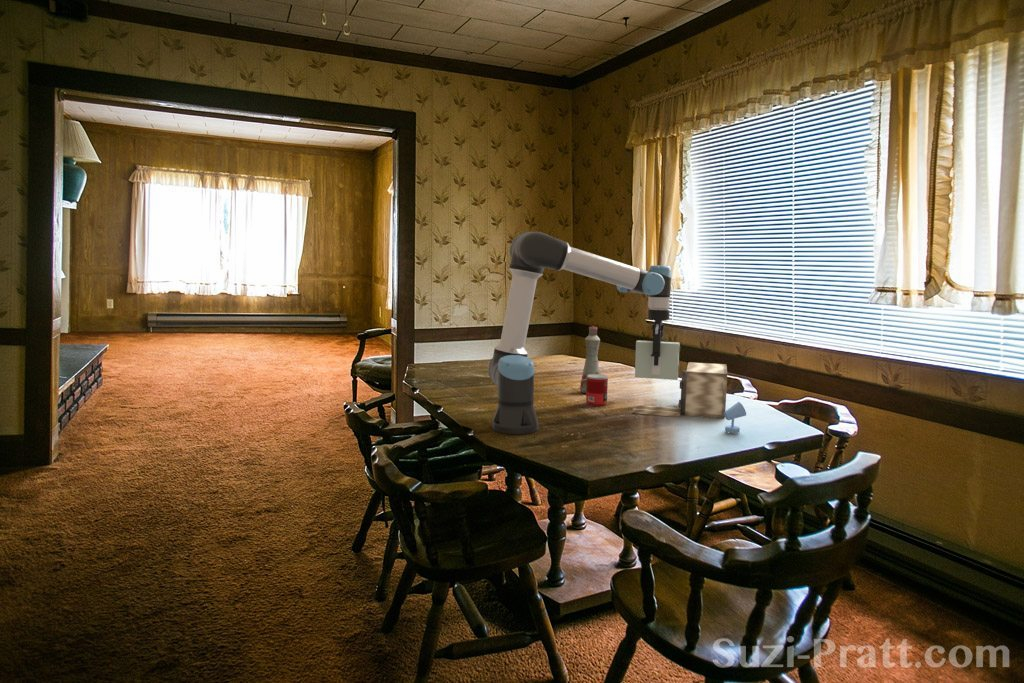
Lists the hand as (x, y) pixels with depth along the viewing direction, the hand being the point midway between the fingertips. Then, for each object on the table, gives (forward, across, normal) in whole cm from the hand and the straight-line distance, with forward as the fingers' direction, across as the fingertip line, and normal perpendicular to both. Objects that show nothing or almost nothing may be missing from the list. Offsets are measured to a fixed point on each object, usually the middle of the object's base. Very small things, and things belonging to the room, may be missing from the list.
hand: (656, 373), depth 239 cm
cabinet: (+15, +9, -8) cm, 19 cm away
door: (+2, 0, 0) cm, 2 cm away
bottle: (+15, +26, +29) cm, 42 cm away
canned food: (+15, +6, +23) cm, 28 cm away
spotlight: (+15, -19, -27) cm, 36 cm away
